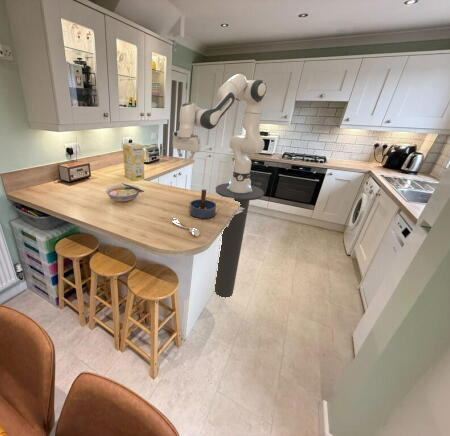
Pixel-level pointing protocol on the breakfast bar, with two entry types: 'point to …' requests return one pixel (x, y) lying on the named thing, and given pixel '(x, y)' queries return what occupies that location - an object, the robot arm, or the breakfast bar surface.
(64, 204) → the breakfast bar surface
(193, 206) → the mixing bowl
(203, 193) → the muddler
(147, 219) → the breakfast bar surface
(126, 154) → the pasta box
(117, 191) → the ramen bowl
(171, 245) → the breakfast bar surface
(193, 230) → the silver metal spoon
